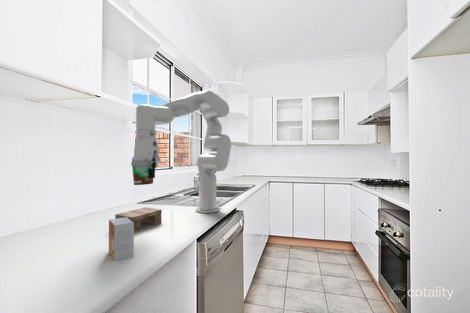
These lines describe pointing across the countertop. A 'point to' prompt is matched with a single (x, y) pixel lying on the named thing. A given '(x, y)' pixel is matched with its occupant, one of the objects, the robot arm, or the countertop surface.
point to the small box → (121, 238)
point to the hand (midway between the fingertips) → (145, 177)
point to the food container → (141, 172)
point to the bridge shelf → (147, 220)
